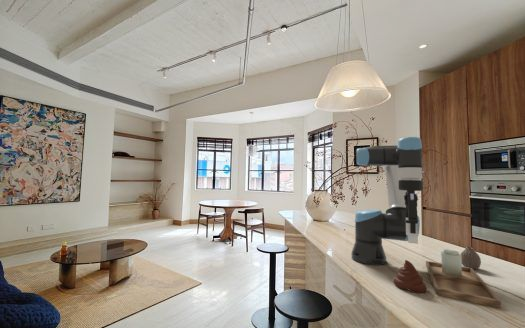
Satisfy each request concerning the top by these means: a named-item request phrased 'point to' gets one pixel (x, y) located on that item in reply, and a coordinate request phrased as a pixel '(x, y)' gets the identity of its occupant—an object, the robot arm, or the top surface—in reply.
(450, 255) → the jar
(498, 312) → the top surface
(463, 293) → the divided wooden tray
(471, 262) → the vase
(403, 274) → the poop emoji
